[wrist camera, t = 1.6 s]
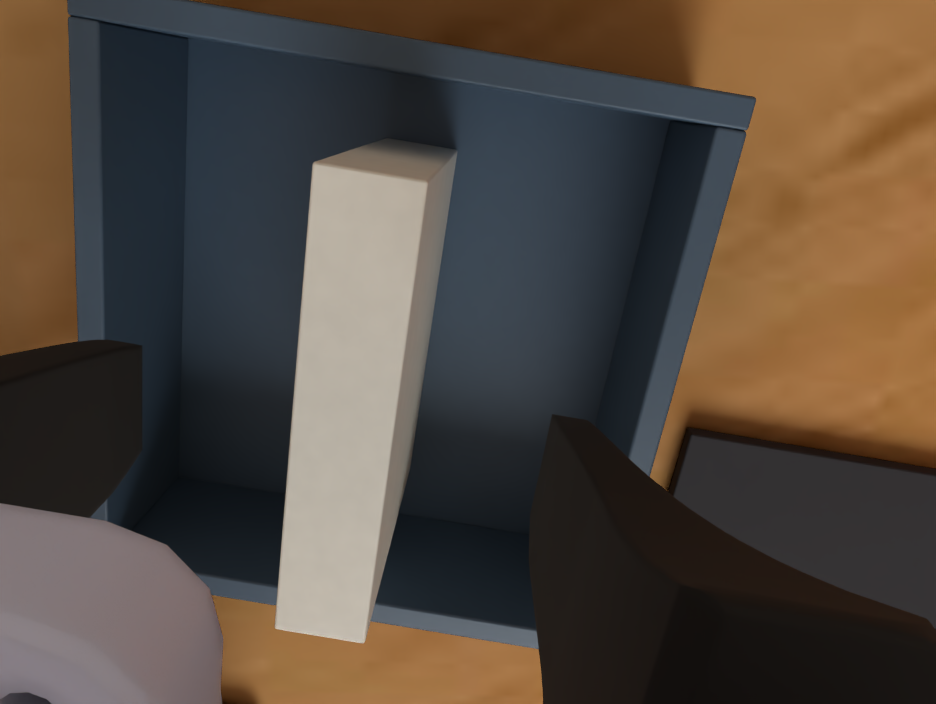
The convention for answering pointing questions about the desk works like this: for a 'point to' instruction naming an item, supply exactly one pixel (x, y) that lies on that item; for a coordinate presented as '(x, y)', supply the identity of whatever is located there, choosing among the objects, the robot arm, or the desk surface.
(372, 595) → the block
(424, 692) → the desk surface
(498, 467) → the bin
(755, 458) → the mat
